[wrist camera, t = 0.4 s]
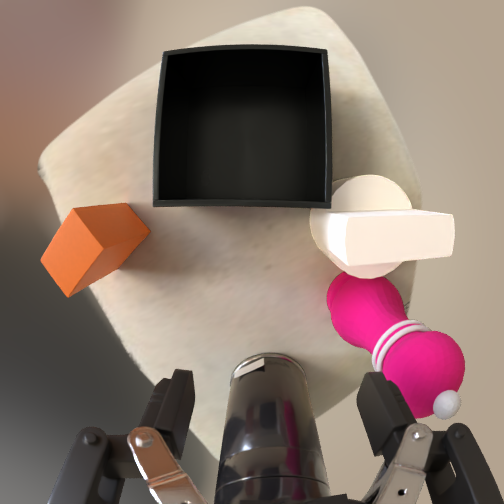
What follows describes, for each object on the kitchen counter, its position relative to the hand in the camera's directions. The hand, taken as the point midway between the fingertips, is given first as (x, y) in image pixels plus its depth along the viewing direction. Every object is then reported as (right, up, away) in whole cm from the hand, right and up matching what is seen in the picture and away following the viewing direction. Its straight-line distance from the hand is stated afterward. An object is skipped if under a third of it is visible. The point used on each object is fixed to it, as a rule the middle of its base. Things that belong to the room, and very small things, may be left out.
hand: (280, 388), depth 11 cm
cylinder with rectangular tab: (+9, +9, +17) cm, 21 cm away
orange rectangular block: (-16, +8, +17) cm, 25 cm away
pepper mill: (+10, +1, +18) cm, 21 cm away
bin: (-2, +17, +15) cm, 23 cm away
